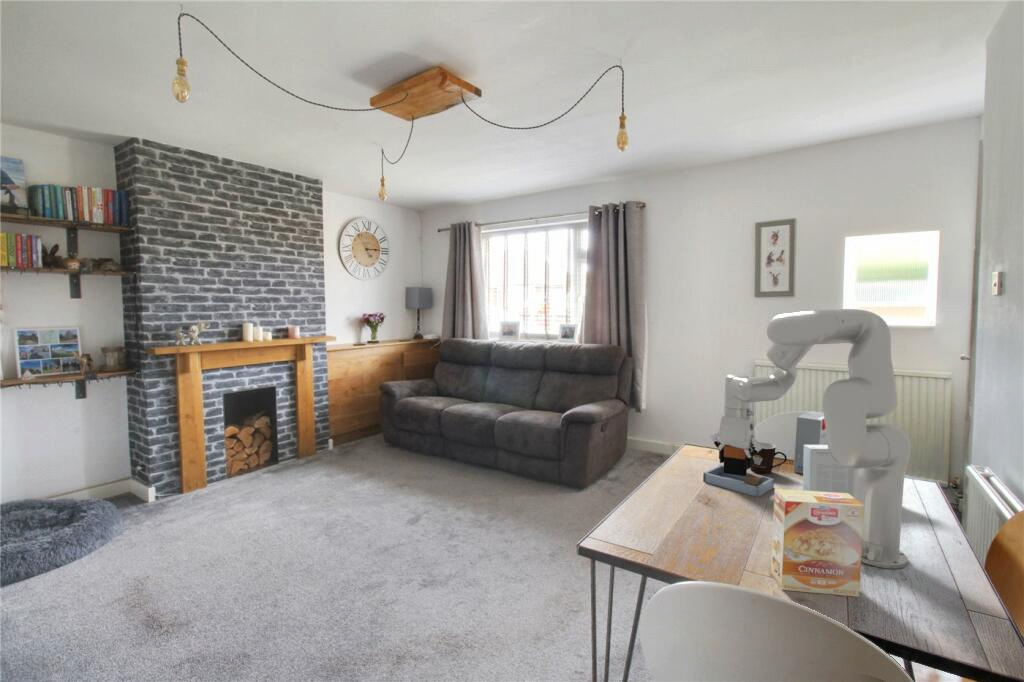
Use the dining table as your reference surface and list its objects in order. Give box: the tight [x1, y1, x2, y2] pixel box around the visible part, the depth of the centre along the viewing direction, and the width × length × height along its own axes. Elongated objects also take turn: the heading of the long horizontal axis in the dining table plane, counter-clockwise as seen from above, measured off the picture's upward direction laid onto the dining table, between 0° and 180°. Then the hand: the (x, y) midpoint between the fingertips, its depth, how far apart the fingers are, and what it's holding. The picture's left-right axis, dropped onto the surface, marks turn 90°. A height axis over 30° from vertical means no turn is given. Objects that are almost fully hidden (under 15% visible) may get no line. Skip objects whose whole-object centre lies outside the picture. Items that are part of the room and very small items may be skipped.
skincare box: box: [802, 445, 855, 496], centre depth 149 cm, size 21×6×16 cm, turn 84°
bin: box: [702, 464, 775, 498], centre depth 159 cm, size 12×18×4 cm, turn 40°
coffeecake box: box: [770, 488, 864, 598], centre depth 103 cm, size 15×7×20 cm, turn 80°
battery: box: [723, 445, 748, 476], centre depth 159 cm, size 4×7×10 cm, turn 63°
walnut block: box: [744, 473, 763, 487], centre depth 155 cm, size 4×4×4 cm
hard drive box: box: [793, 410, 828, 474], centre depth 173 cm, size 16×8×20 cm, turn 132°
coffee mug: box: [750, 441, 788, 475], centre depth 169 cm, size 12×9×10 cm
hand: (735, 464), depth 159 cm, fingers closed on battery, 7 cm apart
